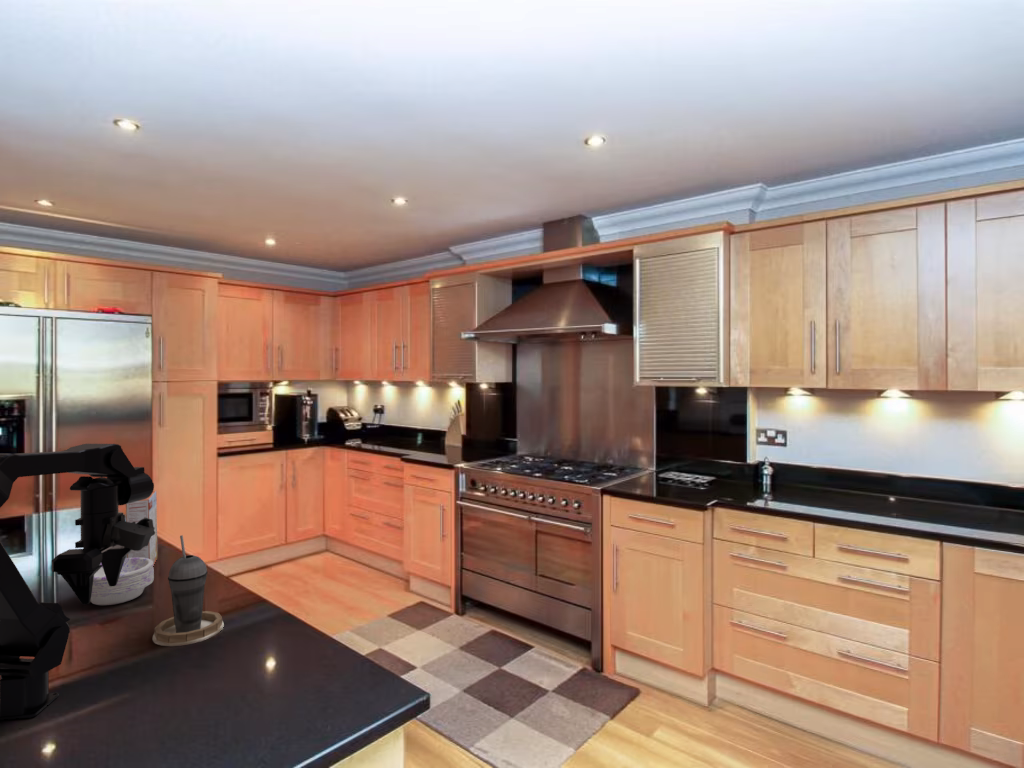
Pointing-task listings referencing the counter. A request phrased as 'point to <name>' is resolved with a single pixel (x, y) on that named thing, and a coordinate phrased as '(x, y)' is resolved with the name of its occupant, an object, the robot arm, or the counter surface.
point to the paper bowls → (123, 582)
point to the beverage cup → (187, 591)
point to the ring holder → (169, 637)
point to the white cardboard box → (137, 513)
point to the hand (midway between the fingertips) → (100, 594)
